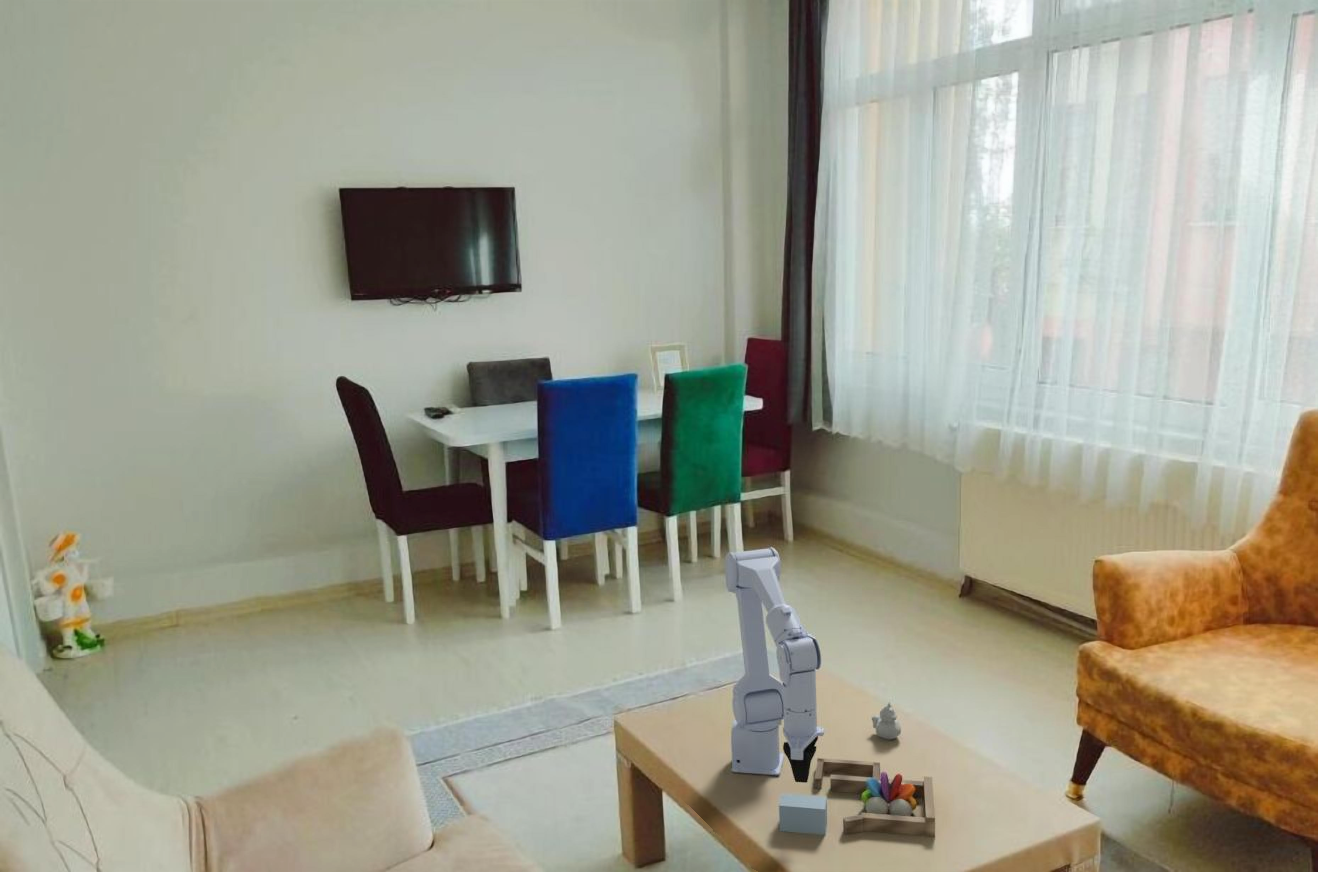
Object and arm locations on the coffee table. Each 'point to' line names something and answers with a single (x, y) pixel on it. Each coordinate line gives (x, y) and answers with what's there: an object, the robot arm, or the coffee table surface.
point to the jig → (859, 786)
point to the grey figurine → (886, 723)
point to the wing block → (803, 814)
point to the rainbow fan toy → (889, 796)
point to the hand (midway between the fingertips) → (801, 777)
